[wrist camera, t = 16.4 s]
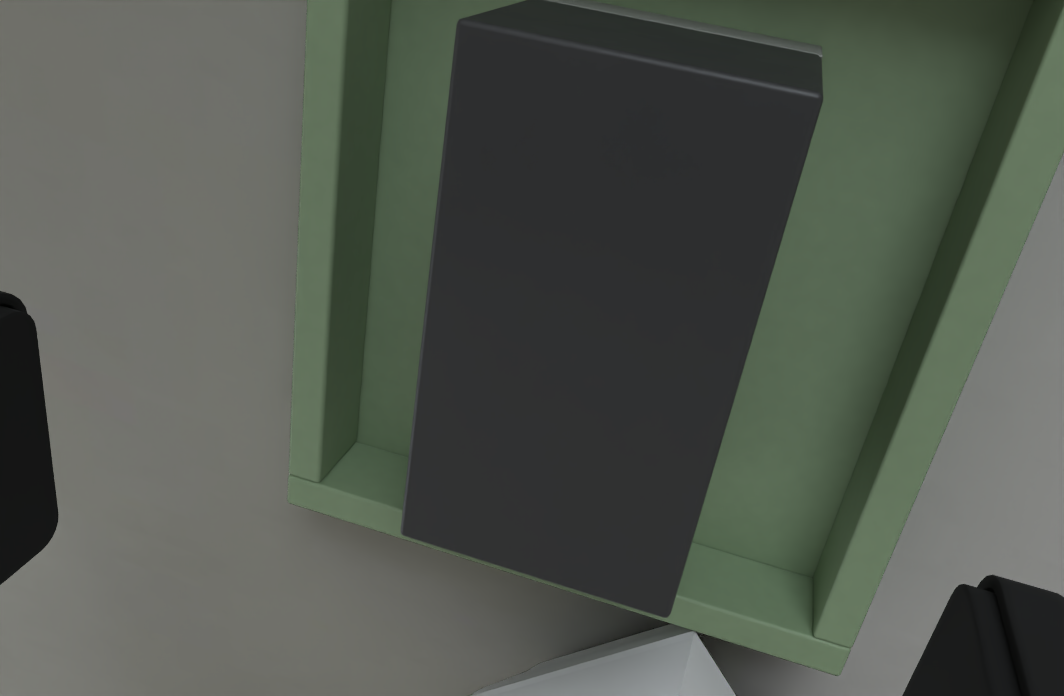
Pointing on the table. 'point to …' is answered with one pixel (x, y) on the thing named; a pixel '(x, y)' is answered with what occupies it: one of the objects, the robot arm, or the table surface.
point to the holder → (788, 308)
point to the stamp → (625, 669)
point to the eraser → (597, 284)
